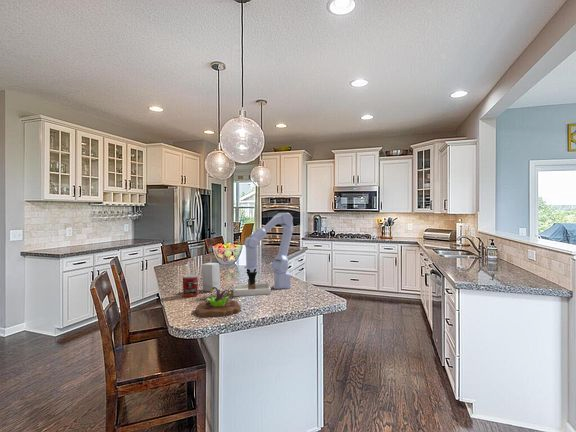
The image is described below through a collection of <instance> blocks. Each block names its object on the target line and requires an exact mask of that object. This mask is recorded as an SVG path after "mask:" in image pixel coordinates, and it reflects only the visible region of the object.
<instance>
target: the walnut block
mask: <svg viewBox="0 0 576 432" xmlns="http://www.w3.org/2000/svg"><path fill="white" fill-rule="evenodd" d="M247 284H248V290H252V289H256V286H255V284H256V281H255V282H254V285H250V281H249V278H248V279H247Z"/></svg>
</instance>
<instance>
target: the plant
mask: <svg viewBox="0 0 576 432" xmlns="http://www.w3.org/2000/svg"><path fill="white" fill-rule="evenodd" d="M214 289H216V291H215V292H216V295H215V297H214V296H211V298H209V297H208V298H206V300H207V301H204V302H201V303H200V304H198V305H197V306H196V307H195V315H198V317H199V318H215V317H216V318H217V317H226V316H232V315H235V314H239V313H241V311H242V307H241V305H240V304H239V302H238V301H236V300H233V299H228V298H229V297H230V296H228V295H231V294H232V291H230V290H228V289H225V290H223V291H222V292H221V289H220V290H218V289H217V288H216V287H212V288H211V289H210V290H211V291H213V290H214ZM225 292H227V293H228V295H227V296H225V297H224V298H223V295H224V293H225Z"/></svg>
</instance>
